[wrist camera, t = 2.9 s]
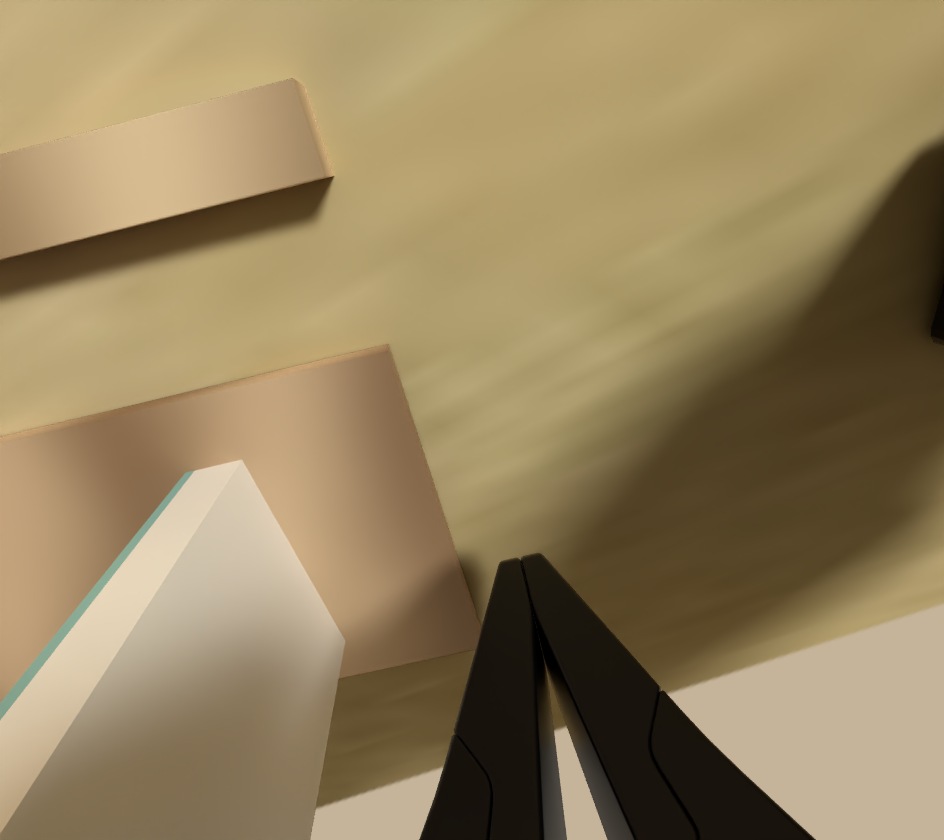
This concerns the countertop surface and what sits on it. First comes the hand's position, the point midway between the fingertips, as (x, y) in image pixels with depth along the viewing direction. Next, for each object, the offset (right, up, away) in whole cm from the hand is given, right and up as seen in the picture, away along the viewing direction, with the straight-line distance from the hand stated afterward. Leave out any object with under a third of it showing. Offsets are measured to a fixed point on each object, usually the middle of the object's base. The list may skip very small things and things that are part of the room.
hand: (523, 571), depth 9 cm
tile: (-6, 0, +2) cm, 6 cm away
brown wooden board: (-8, -1, +2) cm, 8 cm away
